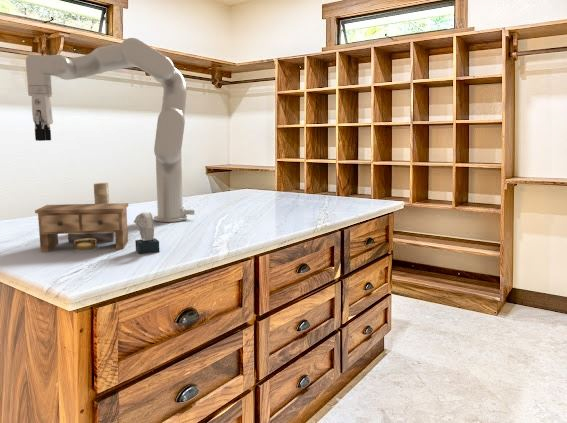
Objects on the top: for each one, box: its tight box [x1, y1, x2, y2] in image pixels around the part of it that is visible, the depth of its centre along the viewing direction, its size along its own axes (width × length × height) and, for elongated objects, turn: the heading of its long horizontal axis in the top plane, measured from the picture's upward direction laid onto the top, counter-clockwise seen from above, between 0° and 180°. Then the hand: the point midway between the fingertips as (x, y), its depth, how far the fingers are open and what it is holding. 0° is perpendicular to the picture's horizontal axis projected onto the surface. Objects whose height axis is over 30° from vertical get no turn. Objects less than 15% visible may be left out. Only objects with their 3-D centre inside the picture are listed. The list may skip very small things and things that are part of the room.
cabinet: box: [34, 202, 129, 253], centre depth 138 cm, size 23×12×12 cm, turn 101°
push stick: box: [67, 182, 115, 244], centre depth 155 cm, size 13×23×16 cm, turn 11°
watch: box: [133, 212, 160, 255], centre depth 133 cm, size 6×8×11 cm
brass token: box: [73, 238, 98, 251], centre depth 138 cm, size 6×6×2 cm
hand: (43, 140), depth 171 cm, fingers open, 9 cm apart
